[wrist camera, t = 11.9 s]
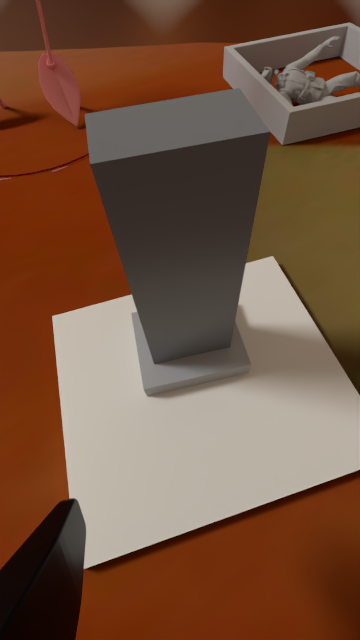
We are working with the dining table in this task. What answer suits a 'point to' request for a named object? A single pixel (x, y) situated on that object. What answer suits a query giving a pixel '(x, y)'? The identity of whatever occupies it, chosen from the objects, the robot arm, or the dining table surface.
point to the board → (199, 421)
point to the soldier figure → (309, 79)
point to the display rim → (279, 53)
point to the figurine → (56, 86)
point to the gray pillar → (182, 226)
